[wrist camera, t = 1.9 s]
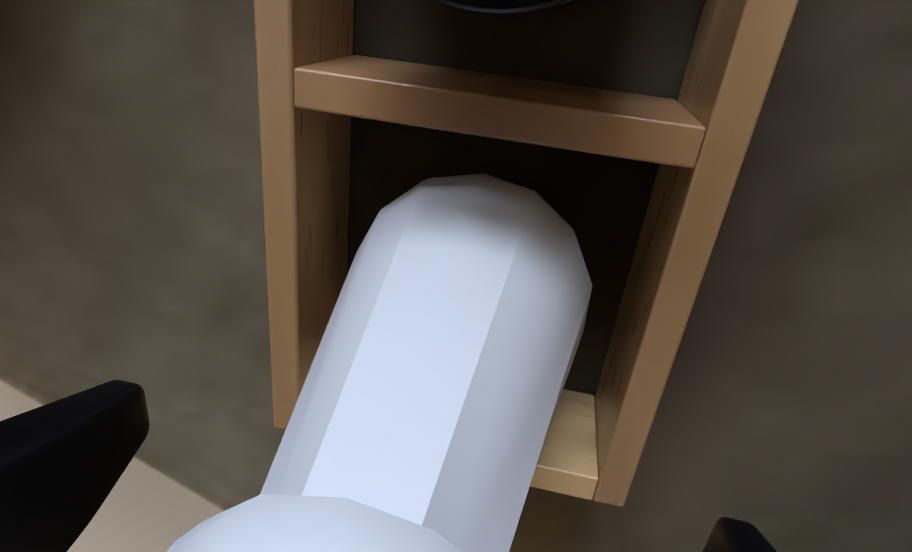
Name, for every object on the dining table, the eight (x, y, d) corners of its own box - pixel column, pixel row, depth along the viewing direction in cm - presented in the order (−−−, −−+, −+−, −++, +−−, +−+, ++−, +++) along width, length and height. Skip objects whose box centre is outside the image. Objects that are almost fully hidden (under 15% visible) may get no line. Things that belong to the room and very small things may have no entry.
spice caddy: (880, -446, 9) (1035, -678, 6) (615, 420, 17) (623, 509, 14) (325, -459, 10) (218, -658, 7) (323, 358, 19) (272, 429, 15)
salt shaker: (405, 343, 18) (87, 969, 6) (365, 165, 15) (-259, 631, 4) (595, 337, 16) (645, 1127, 5) (583, 140, 14) (624, 747, 2)
